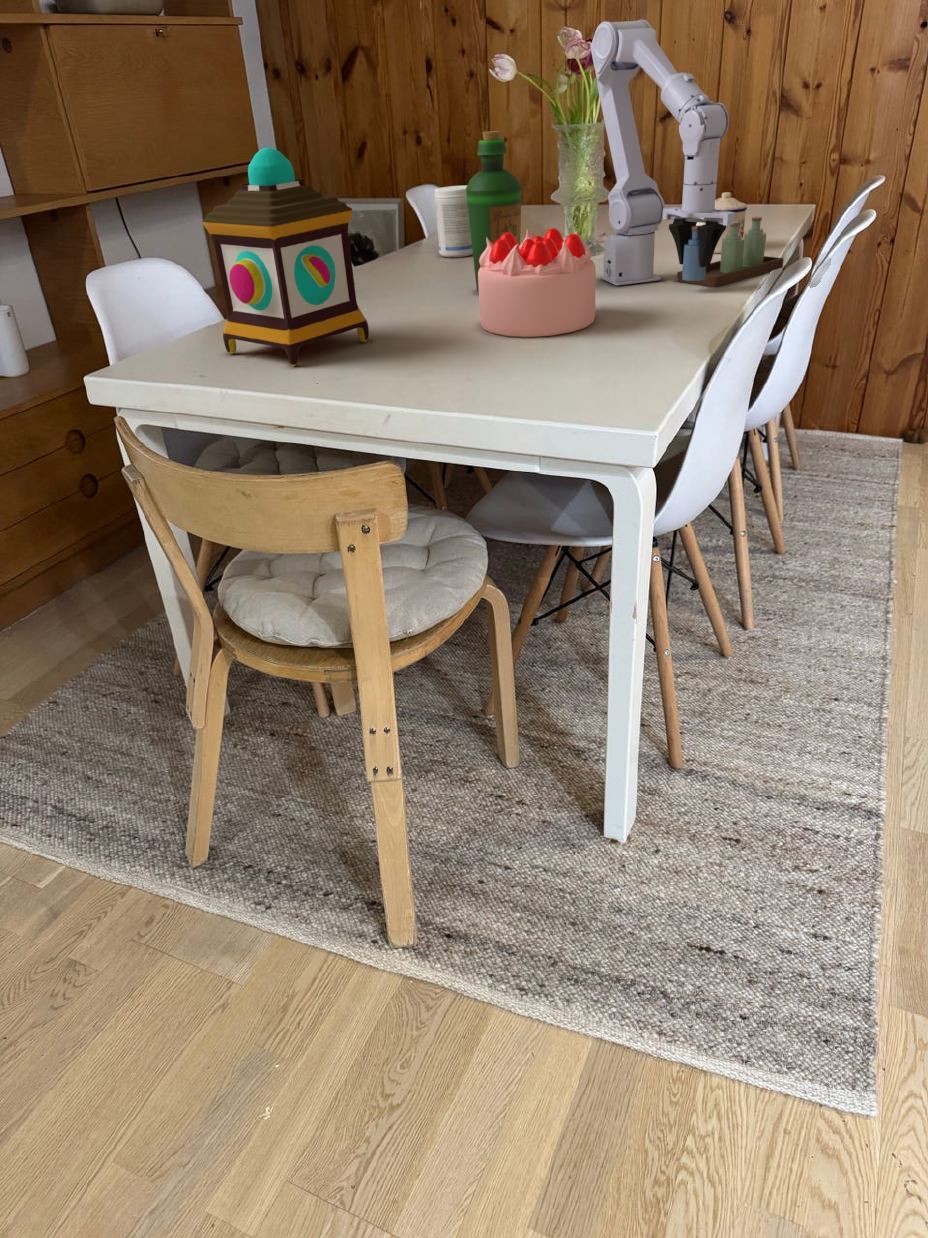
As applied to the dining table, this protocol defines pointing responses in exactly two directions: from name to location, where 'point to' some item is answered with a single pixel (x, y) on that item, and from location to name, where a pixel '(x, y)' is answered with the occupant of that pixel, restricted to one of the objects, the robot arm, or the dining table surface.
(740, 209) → the cream enamel lidded pot
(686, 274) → the blue bottle
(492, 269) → the cake
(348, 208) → the decorative lantern
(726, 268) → the green bottle mid
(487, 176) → the bottle
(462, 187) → the supplement tub
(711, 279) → the tray
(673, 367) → the dining table surface
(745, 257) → the green bottle far
